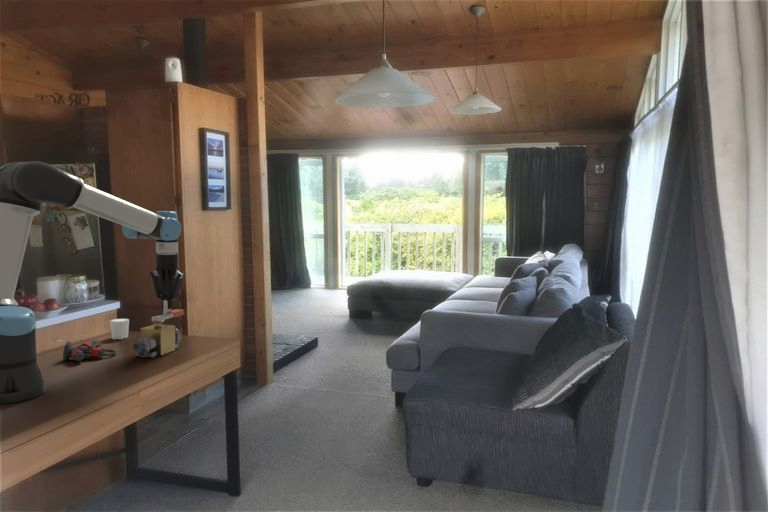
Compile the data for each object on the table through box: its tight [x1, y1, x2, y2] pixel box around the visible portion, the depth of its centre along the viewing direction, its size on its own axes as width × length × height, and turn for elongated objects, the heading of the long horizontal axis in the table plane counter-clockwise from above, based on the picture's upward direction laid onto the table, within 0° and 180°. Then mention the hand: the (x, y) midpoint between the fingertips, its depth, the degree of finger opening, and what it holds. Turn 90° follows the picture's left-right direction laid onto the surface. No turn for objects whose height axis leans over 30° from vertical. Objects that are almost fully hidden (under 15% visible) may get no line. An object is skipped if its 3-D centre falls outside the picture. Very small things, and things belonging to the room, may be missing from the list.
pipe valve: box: [132, 322, 182, 359], centre depth 195 cm, size 18×8×11 cm, turn 165°
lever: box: [151, 308, 185, 324], centre depth 200 cm, size 16×4×2 cm, turn 169°
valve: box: [62, 339, 117, 362], centre depth 192 cm, size 6×26×15 cm
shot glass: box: [109, 318, 130, 340], centre depth 214 cm, size 7×7×7 cm
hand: (167, 317), depth 204 cm, fingers closed
